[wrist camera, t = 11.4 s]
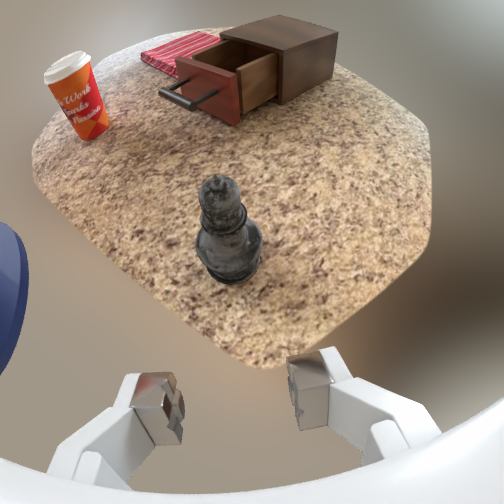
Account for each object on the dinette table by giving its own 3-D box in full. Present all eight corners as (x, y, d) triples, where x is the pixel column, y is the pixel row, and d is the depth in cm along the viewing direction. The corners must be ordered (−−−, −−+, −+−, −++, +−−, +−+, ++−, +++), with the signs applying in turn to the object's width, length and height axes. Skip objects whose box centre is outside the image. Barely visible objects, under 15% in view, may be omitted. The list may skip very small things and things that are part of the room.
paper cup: (69, 149, 39) (33, 84, 26) (81, 121, 42) (53, 60, 30) (110, 137, 39) (78, 64, 26) (119, 110, 42) (94, 43, 30)
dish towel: (194, 90, 43) (191, 77, 41) (138, 61, 52) (136, 52, 50) (268, 59, 48) (268, 48, 46) (201, 36, 57) (199, 27, 54)
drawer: (206, 145, 35) (196, 95, 28) (157, 116, 39) (145, 73, 32) (296, 89, 41) (299, 47, 34) (244, 68, 45) (241, 31, 38)
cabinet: (281, 105, 40) (283, 50, 32) (224, 80, 44) (219, 32, 36) (332, 76, 45) (338, 31, 36) (278, 55, 49) (279, 14, 40)
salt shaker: (190, 258, 29) (153, 178, 18) (234, 222, 31) (221, 133, 20) (230, 299, 27) (208, 231, 16) (275, 259, 29) (281, 174, 18)
